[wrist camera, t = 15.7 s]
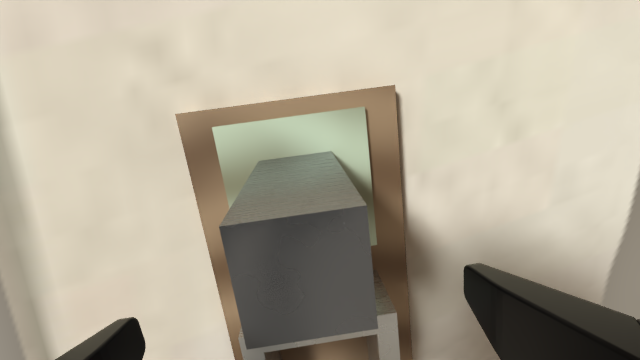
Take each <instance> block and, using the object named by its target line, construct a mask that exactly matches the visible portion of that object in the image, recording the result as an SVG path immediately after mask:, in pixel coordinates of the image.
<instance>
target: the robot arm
mask: <svg viewBox="0 0 640 360" xmlns="http://www.w3.org/2000/svg"><path fill="white" fill-rule="evenodd" d="M464 295H465V298H466V300H467V302H468V304H469V306H470V307H471V309H472V311H473V313H474V315H475V316H476V318H477V320H478V322H479V323H480V325H481V327H482V329H483V331H484V332H485V334H486V336H487V338H488V340H489V341H490V343H491V345H492V346H493V348H494V350H495V351H496V353H497V354H498V356H499V357H500V359H501V360H640V319H637V320H636V319H635V318H634V317H632V316H629V315H626V314H623V313H620V312H617V311H614V310H611V309H609V308H606V307H603V306H600V305H598V304H595V303H592V302H589V301H586V300H583V299H581V298H578V297H575V296H572V295H569V294H566V293H564V292H561V291H558V290H555V289H552V288H549V287H546V286H544V285H541V284H538V283H535V282H532V281H529V280H527V279H524V278H521V277H518V276H515V275H512V274H510V273H507V272H504V271H501V270H498V269H495V268H493V267H490V266H487V265H484V264H481V263H476V264H470V265H466V266H465V267H464ZM144 352H145V340H144V337H143V334H142V331H141V328H140V325H139V322H138V320H137V319H136V318H134V317H131V318H124V319H119V320H117V321H115V322H114V323H112V324H110V325H109V326H107V327H106V328H104V329H103V330H101V331H99V332H98V333H96V334H95V335H93V336H92V337H90V338H88V339H87V340H85V341H84V342H82V343H81V344H79V345H77V346H76V347H74V348H73V349H71V350H70V351H68V352H66V353H65V354H63V355H62V356H60V357H59V358H57V359H55V360H142V358H143V356H144Z"/></svg>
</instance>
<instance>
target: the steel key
mask: <svg viewBox="0 0 640 360" xmlns="http://www.w3.org/2000/svg"><path fill="white" fill-rule="evenodd" d="M219 229H220V234H221V238H222V243H223V247H224V252H225V256H226V260H227V265H228V269H229V274H230V278H231V283H232V287H233V292H234V296H235V300H236V305H237V309H238V314H239V318H240V323H241V327H242V331H243V336H244V340H245V345H246V349H247V350H248V349H254V348H261V347H267V346H273V345H279V344H286V343H292V342H298V341H304V340H311V339H317V338H323V337H330V336H336V335H342V334H348V333H355V332H361V331H367V330H374V329H378V322H377V311H376V300H375V289H374V277H373V266H372V255H371V244H370V233H369V222H368V211H367V205H366V203H365V202H364V200H363V199H362V197H361V196H360V194H359V193H358V191H357V189H356V188H355V186H354V185H353V183H352V182H351V180H350V179H349V177H348V176H347V174H346V173H345V171H344V170H343V168H342V167H341V165H340V164H339V162H338V161H337V159H336V158H335V156H334V155H333V153H332V152H331V151H328V152H320V153H313V154H306V155H298V156H291V157H284V158H276V159H269V160H262V161H258V163H257V164H256V166H255V168H254V169H253V171H252V173H251V174H250V176H249V178H248V179H247V181H246V183H245V184H244V186H243V188H242V189H241V191H240V193H239V194H238V196H237V197H236V199H235V201H234V202H233V204H232V206H231V207H230V209H229V211H228V212H227V214H226V216H225V217H224V219H223V221H222V222H221V224H220V226H219Z"/></svg>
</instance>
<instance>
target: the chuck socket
mask: <svg viewBox="0 0 640 360" xmlns="http://www.w3.org/2000/svg"><path fill="white" fill-rule="evenodd" d="M373 277H374V289H375V300H376V311H377V322H378V329H374V330H367V331H361V332H355V333H348V334H342V335H336V336H330V337H323V338H317V339H311V340H304V341H298V342H292V343H286V344H279V345H273V346H267V347H261V348H254V349H248V350H247V349H246V345H245V340H244V336H243V331H242V327H241V329H240V333H239V337H238V339H239V344H240V348H241V352H242V356H243V360H282V358H281V353H280V350H283V349H289V348H295V347H301V346H307V345H314V344H320V343H326V342H332V341H338V340H344V339H350V338H357V337H363V336H367V346H368V355H369V360H400V349H399V336H398V322H397V312H396V310H395V308H394V306H393V304H392V301H391V299H390V297H389V295H388V293H387V291H386V289H385V286H384V284H383V282H382V280H381V278H380V276H379V274H378V272H377V270H373Z"/></svg>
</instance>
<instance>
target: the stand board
mask: <svg viewBox="0 0 640 360" xmlns="http://www.w3.org/2000/svg"><path fill="white" fill-rule="evenodd" d="M175 115H176V119H177V123H178V127H179V131H180V135H181V139H182V144H183V148H184V152H185V156H186V160H187V164H188V168H189V172H190V176H191V181H192V185H193V189H194V193H195V197H196V201H197V205H198V209H199V213H200V217H201V222H202V226H203V230H204V234H205V238H206V242H207V246H208V250H209V254H210V258H211V263H212V267H213V271H214V275H215V279H216V283H217V287H218V291H219V295H220V300H221V304H222V308H223V312H224V316H225V320H226V324H227V328H228V332H229V336H230V341H231V345H232V349H233V353H234V357H235V360H243V356H242V352H241V348H240V344H239V339H238V337H239V333H240V329H241V323H240V318H239V314H238V309H237V305H236V300H235V296H234V292H233V287H232V283H231V278H230V274H229V269H228V265H227V260H226V256H225V252H224V247H223V243H222V238H221V234H220V229H219V226H220V224H221V222H222V221H223V219H224V217H225V216H226V214H227V212H228V211H229V209H230V207H231V206H232V204H233V202H234V201H235V199H236V197H237V196H238V194H239V193H240V191H241V189H242V188H243V186H244V184H245V183H246V181H247V179H248V178H249V176H250V174H251V173H252V171H253V169H254V168H255V166H256V164H257V163H258V161H262V160H269V159H276V158H284V157H291V156H298V155H306V154H313V153H320V152H328V151H331V152H332V153H333V155H334V156H335V158H336V159H337V161H338V162H339V164H340V165H341V167H342V168H343V170H344V171H345V173H346V174H347V176H348V177H349V179H350V180H351V182H352V183H353V185H354V186H355V188H356V189H357V191H358V193H359V194H360V196H361V197H362V199H363V200H364V202H365V203H366V205H367V211H368V222H369V233H370V244H371V255H372V266H373V270H377V272H378V274H379V276H380V278H381V280H382V282H383V284H384V286H385V289H386V291H387V293H388V295H389V297H390V299H391V301H392V304H393V306H394V308H395V310H396V312H397V322H398V336H399V349H400V360H412V347H411V331H410V315H409V299H408V283H407V267H406V252H405V236H404V220H403V204H402V188H401V172H400V157H399V141H398V125H397V109H396V93H395V85H392V86H384V87H377V88H369V89H361V90H354V91H346V92H339V93H331V94H324V95H316V96H309V97H301V98H294V99H286V100H279V101H271V102H264V103H256V104H249V105H241V106H233V107H226V108H218V109H211V110H203V111H196V112H188V113H181V114H175ZM280 353H281V358H282V360H369V355H368V346H367V336H363V337H357V338H350V339H344V340H338V341H332V342H326V343H320V344H314V345H307V346H301V347H295V348H289V349H283V350H280Z"/></svg>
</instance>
